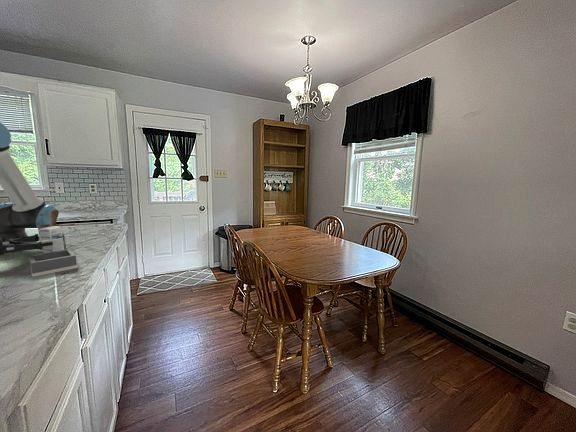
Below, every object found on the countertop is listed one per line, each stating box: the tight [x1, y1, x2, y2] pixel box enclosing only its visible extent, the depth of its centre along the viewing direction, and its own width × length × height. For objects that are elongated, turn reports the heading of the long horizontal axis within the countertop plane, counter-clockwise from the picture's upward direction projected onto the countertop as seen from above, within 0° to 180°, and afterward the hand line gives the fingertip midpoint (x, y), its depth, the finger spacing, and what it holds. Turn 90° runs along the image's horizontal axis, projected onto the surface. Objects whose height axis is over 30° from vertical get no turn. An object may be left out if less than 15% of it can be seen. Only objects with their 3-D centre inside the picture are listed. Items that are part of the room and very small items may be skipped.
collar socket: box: [28, 248, 79, 278], centre depth 103 cm, size 13×13×5 cm
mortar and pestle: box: [37, 209, 63, 236], centre depth 124 cm, size 12×9×20 cm
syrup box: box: [38, 226, 67, 254], centre depth 113 cm, size 6×6×14 cm
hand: (60, 238), depth 114 cm, fingers open, 13 cm apart
